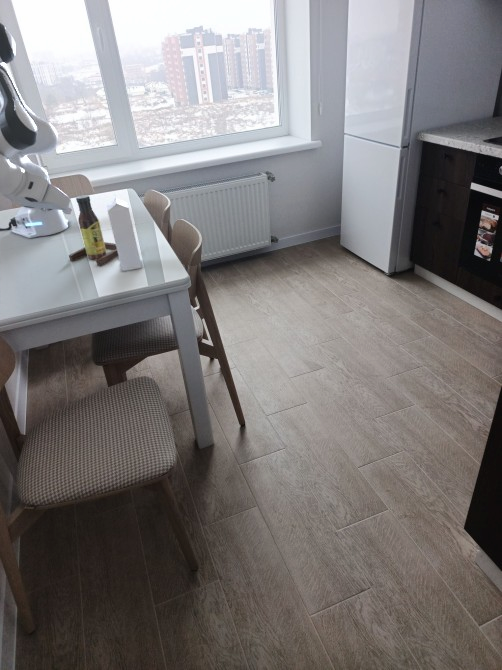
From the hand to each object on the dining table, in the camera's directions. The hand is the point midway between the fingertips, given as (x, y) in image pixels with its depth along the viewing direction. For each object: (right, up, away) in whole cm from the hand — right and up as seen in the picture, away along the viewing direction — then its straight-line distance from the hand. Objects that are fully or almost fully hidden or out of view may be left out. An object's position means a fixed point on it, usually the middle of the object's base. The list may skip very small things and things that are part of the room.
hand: (58, 210), depth 140 cm
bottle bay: (+6, -11, +17) cm, 21 cm away
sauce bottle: (+6, -11, +17) cm, 21 cm away
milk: (+20, -15, +8) cm, 26 cm away
